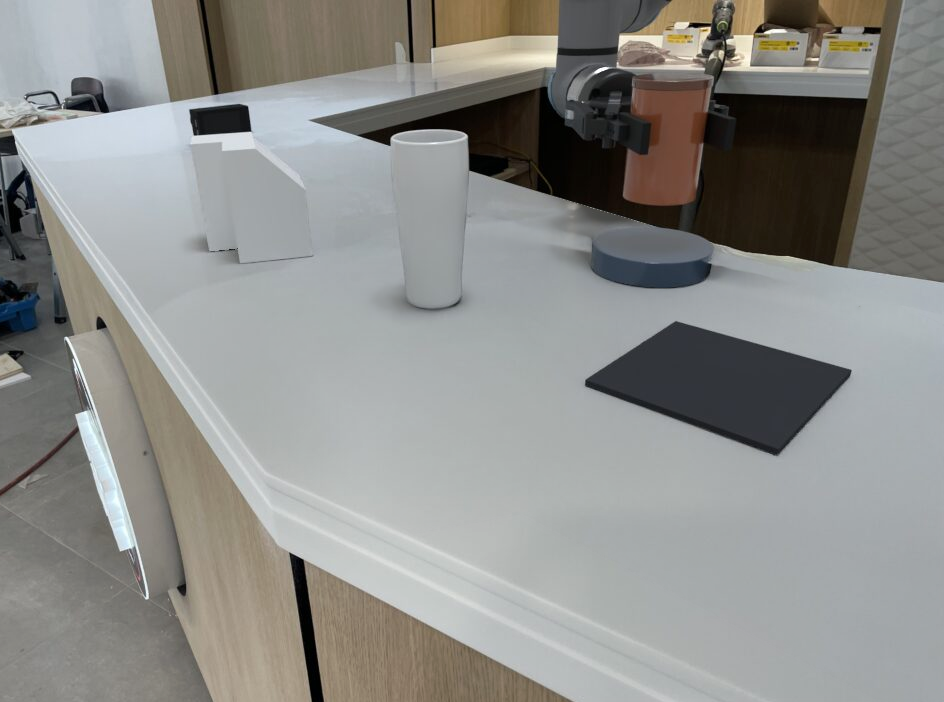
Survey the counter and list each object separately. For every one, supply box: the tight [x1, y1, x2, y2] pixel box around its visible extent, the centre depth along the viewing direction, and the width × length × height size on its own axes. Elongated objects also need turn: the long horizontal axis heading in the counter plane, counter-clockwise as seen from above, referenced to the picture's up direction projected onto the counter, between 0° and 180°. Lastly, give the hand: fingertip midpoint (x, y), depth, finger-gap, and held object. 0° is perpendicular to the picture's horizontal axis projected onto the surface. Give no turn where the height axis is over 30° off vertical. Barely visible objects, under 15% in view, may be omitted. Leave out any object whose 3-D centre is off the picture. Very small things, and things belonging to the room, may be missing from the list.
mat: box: [584, 320, 852, 456], centre depth 54 cm, size 14×14×1 cm
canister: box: [622, 72, 715, 207], centre depth 70 cm, size 7×7×11 cm
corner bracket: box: [189, 131, 314, 264], centre depth 82 cm, size 11×11×12 cm
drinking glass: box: [390, 129, 470, 310], centre depth 66 cm, size 7×7×15 cm
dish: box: [590, 226, 715, 289], centre depth 75 cm, size 12×12×2 cm
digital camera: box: [188, 103, 253, 136], centre depth 142 cm, size 10×5×7 cm, turn 126°
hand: (687, 136), depth 65 cm, fingers closed on canister, 7 cm apart
